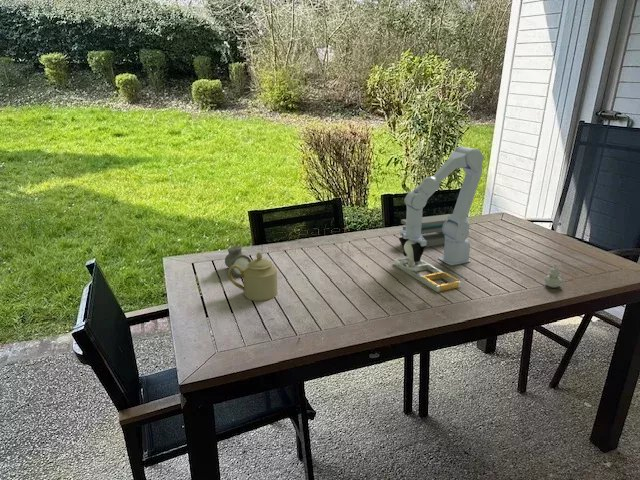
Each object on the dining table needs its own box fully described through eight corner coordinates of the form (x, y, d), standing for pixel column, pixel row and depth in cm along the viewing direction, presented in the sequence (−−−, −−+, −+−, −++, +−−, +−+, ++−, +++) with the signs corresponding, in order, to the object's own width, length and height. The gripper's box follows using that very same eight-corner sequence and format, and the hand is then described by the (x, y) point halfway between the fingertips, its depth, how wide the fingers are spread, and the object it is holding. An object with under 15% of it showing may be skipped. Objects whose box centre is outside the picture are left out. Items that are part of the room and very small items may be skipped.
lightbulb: (419, 270, 167) (421, 242, 163) (402, 269, 168) (404, 241, 164) (419, 264, 173) (421, 237, 169) (403, 263, 174) (404, 236, 170)
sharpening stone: (448, 236, 204) (450, 213, 200) (458, 242, 197) (461, 218, 193) (399, 243, 196) (401, 219, 193) (408, 249, 189) (410, 224, 186)
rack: (414, 260, 176) (415, 255, 176) (460, 287, 152) (461, 281, 152) (393, 264, 173) (393, 259, 172) (437, 292, 149) (437, 286, 148)
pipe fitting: (254, 273, 165) (249, 247, 162) (234, 279, 161) (228, 253, 158) (243, 266, 175) (238, 241, 172) (224, 272, 171) (218, 247, 169)
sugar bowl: (241, 307, 140) (238, 263, 135) (228, 294, 149) (225, 252, 144) (283, 296, 148) (281, 253, 143) (269, 284, 157) (266, 244, 152)
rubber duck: (539, 285, 153) (543, 264, 150) (550, 281, 156) (554, 260, 154) (555, 291, 148) (559, 269, 146) (566, 286, 152) (570, 264, 149)
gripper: (394, 220, 170) (392, 253, 174) (415, 230, 157) (413, 266, 161) (409, 218, 172) (407, 251, 177) (432, 228, 160) (429, 263, 164)
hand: (411, 258), depth 169 cm, fingers closed on lightbulb, 6 cm apart
